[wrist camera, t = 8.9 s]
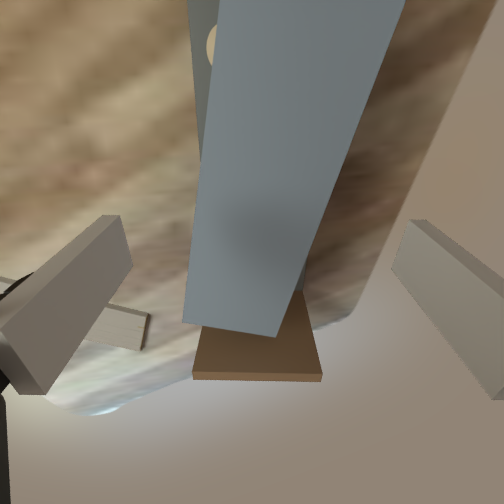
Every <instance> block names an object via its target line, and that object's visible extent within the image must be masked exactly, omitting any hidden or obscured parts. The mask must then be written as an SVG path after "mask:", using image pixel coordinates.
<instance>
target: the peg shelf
mask: <svg viewBox="0 0 504 504" xmlns="http://www.w3.org/2000/svg"><path fill="white" fill-rule="evenodd" d="M187 3H188V15H189V28H190V40H191V52H192V64H193V76H194V89H195V101H196V113H197V125H198V138H199V150H200V162H201V157H202V148H203V140H204V131H205V123H206V114H207V106H208V97H209V89H210V80H211V72H212V63H213V54H214V46H215V37H216V29H217V20H218V12H219V3H220V0H187ZM306 262H307V258H306V261H305V263H304V266H303V268H302V271H301V273H300V276H299V279H298V281H297V284H296V286H295V289H294V292H293V294H292V297H291V299H290V302H289V305H288V307H287V310H286V312H285V315H284V317H283V320H282V323H281V325H280V328H279V330H278V333H277V336H276V338H275V337H269V336H263V335H257V334H251V333H245V332H238V331H232V330H226V329H220V328H214V327H208V326H202V330H201V335H200V339H199V343H198V348H197V352H196V356H195V361H194V365H193V370H192V374H193V380H245V381H297V382H298V381H299V382H300V381H301V382H321V379H322V370H321V366H320V361H319V357H318V353H317V349H316V345H315V341H314V337H313V332H312V328H311V324H310V320H309V316H308V312H307V308H306V304H305V299H304V295H303V291H302V290H303V283H304V276H305V269H306Z"/></svg>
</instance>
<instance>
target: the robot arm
mask: <svg viewBox="0 0 504 504" xmlns="http://www.w3.org/2000/svg"><path fill="white" fill-rule="evenodd" d="M132 267H133V262H132V259H131V255H130V251H129V248H128V244H127V240H126V237H125V233H124V229H123V225H122V222H121V218H120V215H102V216H101V217H100V218H99V219H97V220H96V221H95V222H94V223H93V224H91V225H90V226H89V227H88V228H87V229H85V230H84V231H83V232H82V233H81V234H80V235H78V236H77V237H76V238H75V239H74V240H72V241H71V242H70V243H69V244H68V245H66V246H65V247H64V248H63V249H62V250H60V251H59V252H58V253H57V254H56V255H55V256H53V257H52V258H51V259H50V260H49V261H47V262H46V263H45V264H44V265H43V266H41V267H40V268H39V269H38V270H37V271H35V272H33V273H31V274H29V275H27V276H25V277H23V278H21V279H19V280H17V281H16V282H15V283H13V284H12V285H11V286H10V287H8V288H7V289H6V290H5V291H4V293H3V294H0V504H11V501H10V483H9V481H10V480H9V462H8V443H7V442H8V441H7V422H6V403H5V400H4V398H3V396H2V395H1V393H2V391H3V390H4V389H5V388H6V387H7V385H8V384H9V383H10V384H11V385H12V386H13V387H14V388H15V390H16V391H17V392H18V394H19V395H46V394H47V392H48V391H49V389H50V388H51V386H52V385H53V383H54V382H55V380H56V379H57V377H58V376H59V375H60V373H61V372H62V370H63V369H64V367H65V366H66V364H67V363H68V361H69V360H70V358H71V357H72V355H73V354H74V352H75V351H76V349H77V348H78V346H79V345H80V343H81V342H82V341H83V339H84V338H85V336H86V335H87V333H88V332H89V330H90V329H91V327H92V326H93V324H94V323H95V321H96V320H97V318H98V317H99V315H100V314H101V312H102V311H103V310H104V308H105V307H106V305H107V304H108V302H109V301H110V299H111V298H112V296H113V295H114V293H115V292H116V290H117V289H118V287H119V286H120V284H121V283H122V281H123V280H124V278H125V277H126V276H127V274H128V273H129V271H130V270H131V268H132ZM391 269H392V271H393V272H394V273H395V274H396V276H397V277H398V278H399V280H400V281H401V282H402V284H403V285H404V286H405V288H406V289H407V290H408V292H409V293H410V294H411V295H412V297H413V298H414V299H415V301H416V302H417V303H418V305H419V306H420V307H421V308H422V310H423V311H424V312H425V313H426V315H427V316H428V317H429V319H430V320H431V321H432V323H433V324H434V325H435V327H436V328H437V329H438V331H439V332H440V333H441V334H442V336H443V337H444V338H445V340H446V341H447V342H448V343H449V345H450V346H451V347H452V349H453V350H454V351H455V353H456V354H457V355H458V357H459V358H460V359H461V361H462V362H463V363H464V364H465V366H466V367H467V368H468V370H469V371H470V372H471V373H472V375H473V376H474V377H475V379H476V380H477V381H478V383H479V384H480V385H481V386H482V388H483V389H484V390H485V392H486V393H487V394H488V396H489V397H490V398H491V400H504V279H503V278H502V277H501V276H499V275H498V274H497V273H495V272H494V271H493V270H491V269H490V268H489V267H487V266H486V265H485V264H483V263H482V262H481V261H479V260H478V259H477V258H475V257H474V256H473V255H472V254H470V253H469V252H468V251H466V250H465V249H464V248H462V247H461V246H460V245H458V244H457V243H456V242H454V241H453V240H452V239H450V238H449V237H448V236H446V235H445V234H444V233H442V232H441V231H440V230H439V229H437V228H436V227H435V226H433V225H432V224H430V223H429V222H428V221H427V220H409V222H408V224H407V227H406V230H405V232H404V235H403V238H402V241H401V244H400V246H399V249H398V252H397V255H396V257H395V260H394V263H393V266H392V268H391Z"/></svg>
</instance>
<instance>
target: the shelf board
mask: <svg viewBox="0 0 504 504" xmlns="http://www.w3.org/2000/svg"><path fill="white" fill-rule="evenodd" d="M405 2H406V0H220V3H219V12H218V20H217V29H216V37H215V46H214V54H213V63H212V72H211V80H210V89H209V97H208V106H207V114H206V123H205V131H204V140H203V148H202V157H201V165H200V174H199V182H198V191H197V199H196V208H195V216H194V225H193V233H192V242H191V250H190V259H189V267H188V276H187V284H186V293H185V301H184V310H183V319H182V322H183V323H189V324H195V325H201V326H208V327H214V328H220V329H226V330H232V331H238V332H245V333H251V334H257V335H263V336H269V337H275V338H276V336H277V333H278V330H279V328H280V325H281V323H282V320H283V317H284V315H285V312H286V310H287V307H288V305H289V302H290V299H291V297H292V294H293V292H294V289H295V286H296V284H297V281H298V279H299V276H300V273H301V271H302V268H303V266H304V263H305V261H306V258H307V255H308V253H309V250H310V248H311V245H312V242H313V240H314V237H315V235H316V232H317V229H318V227H319V224H320V222H321V219H322V217H323V214H324V211H325V209H326V206H327V204H328V201H329V198H330V196H331V193H332V191H333V188H334V185H335V183H336V180H337V178H338V175H339V173H340V170H341V167H342V165H343V162H344V160H345V157H346V154H347V152H348V149H349V147H350V144H351V141H352V139H353V136H354V134H355V131H356V129H357V126H358V123H359V121H360V118H361V116H362V113H363V110H364V108H365V105H366V103H367V100H368V97H369V95H370V92H371V90H372V87H373V85H374V82H375V79H376V77H377V74H378V72H379V69H380V66H381V64H382V61H383V59H384V56H385V53H386V51H387V48H388V46H389V43H390V41H391V38H392V35H393V33H394V30H395V28H396V25H397V22H398V20H399V17H400V15H401V12H402V10H403V7H404V4H405Z"/></svg>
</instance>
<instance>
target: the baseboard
mask: <svg viewBox="0 0 504 504" xmlns="http://www.w3.org/2000/svg"><path fill="white" fill-rule="evenodd" d="M15 282H16V280H12V279H8V278H4V277H0V294H3V293H4V291H5V290H6V289H7V288H8V287H10V286H11V285H12V284H13V283H15ZM147 317H148V313H146V312H142V311H138V310H134V309H130V308H126V307H122V306H117V305H113V304H109V303H108V304H107V305H106V307H105V308H104V310H103V311H102V312H101V314H100V315H99V317H98V318H97V320H96V321H95V323H94V324H93V326H92V327H91V329H90V330H89V332H88V333H87V335H86V336H85V338H84V339H86V340H90V341H95V342H99V343H104V344H108V345H113V346H117V347H122V348H126V349H131V350H135V351H141V348H142V342H143V337H144V332H145V327H146V322H147Z"/></svg>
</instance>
